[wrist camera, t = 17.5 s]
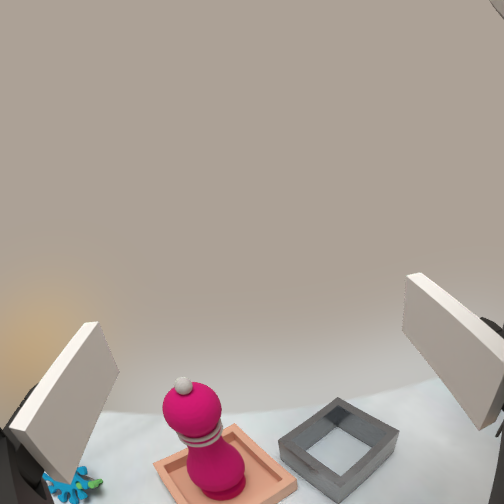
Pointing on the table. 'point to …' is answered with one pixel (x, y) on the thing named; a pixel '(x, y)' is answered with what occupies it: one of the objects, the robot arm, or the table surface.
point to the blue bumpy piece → (73, 485)
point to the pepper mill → (204, 439)
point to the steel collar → (322, 424)
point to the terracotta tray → (256, 473)
